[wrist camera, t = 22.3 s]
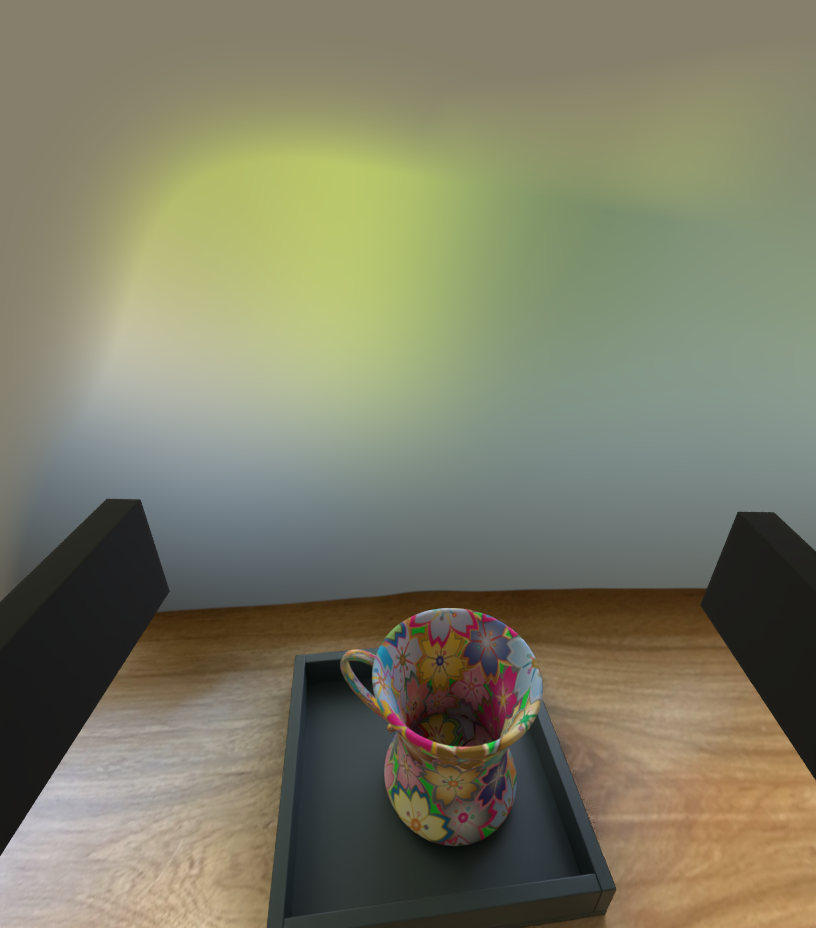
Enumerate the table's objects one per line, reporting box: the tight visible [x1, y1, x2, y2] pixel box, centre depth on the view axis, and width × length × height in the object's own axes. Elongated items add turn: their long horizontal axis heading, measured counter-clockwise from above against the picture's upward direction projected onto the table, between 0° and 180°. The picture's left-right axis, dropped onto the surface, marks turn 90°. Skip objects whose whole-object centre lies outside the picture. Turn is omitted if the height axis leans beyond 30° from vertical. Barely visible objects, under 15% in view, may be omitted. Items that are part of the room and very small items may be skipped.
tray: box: [267, 648, 616, 928], centre depth 32 cm, size 18×17×3 cm
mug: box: [340, 608, 543, 846], centre depth 30 cm, size 12×9×11 cm
